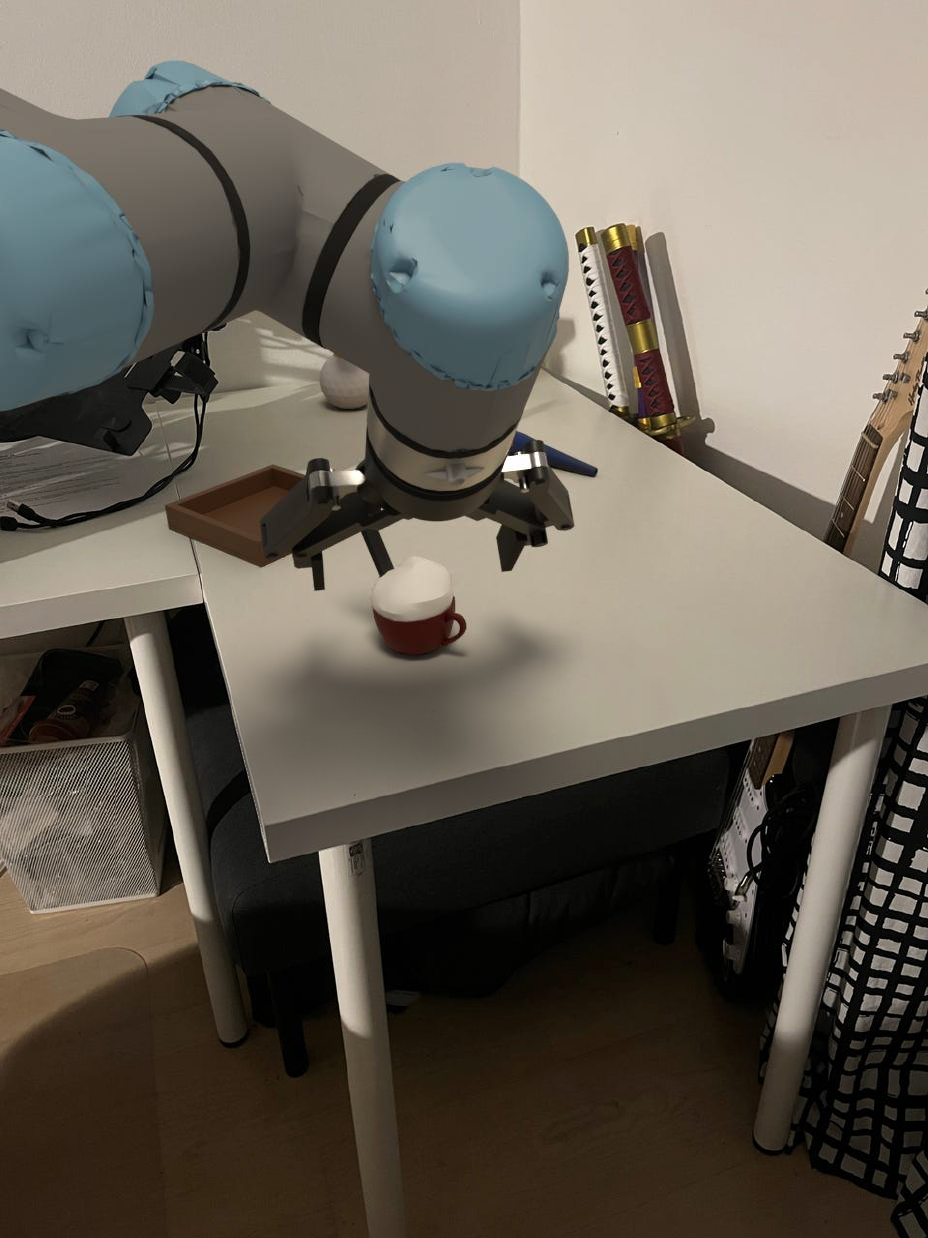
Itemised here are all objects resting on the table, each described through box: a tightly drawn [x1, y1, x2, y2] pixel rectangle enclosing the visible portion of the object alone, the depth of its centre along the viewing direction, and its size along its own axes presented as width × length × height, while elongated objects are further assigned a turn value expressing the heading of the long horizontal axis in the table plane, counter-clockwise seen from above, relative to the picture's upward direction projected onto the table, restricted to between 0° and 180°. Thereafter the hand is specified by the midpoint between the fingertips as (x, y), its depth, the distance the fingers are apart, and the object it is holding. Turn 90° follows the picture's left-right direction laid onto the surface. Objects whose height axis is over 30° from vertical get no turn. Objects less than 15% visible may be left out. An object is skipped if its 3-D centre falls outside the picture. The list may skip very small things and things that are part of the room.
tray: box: [164, 464, 306, 568], centre depth 94 cm, size 14×14×2 cm
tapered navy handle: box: [508, 430, 599, 477], centre depth 108 cm, size 16×4×2 cm, turn 46°
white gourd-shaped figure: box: [319, 353, 369, 410], centre depth 123 cm, size 8×10×12 cm
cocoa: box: [360, 528, 467, 656], centre depth 72 cm, size 10×6×12 cm, turn 34°
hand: (412, 563), depth 70 cm, fingers open, 13 cm apart
